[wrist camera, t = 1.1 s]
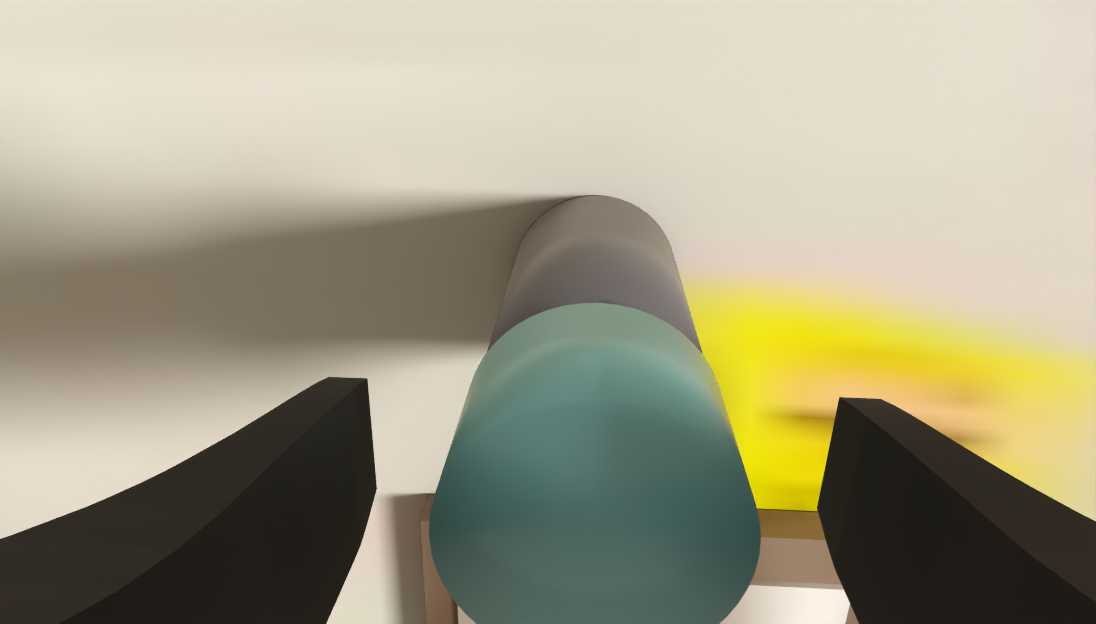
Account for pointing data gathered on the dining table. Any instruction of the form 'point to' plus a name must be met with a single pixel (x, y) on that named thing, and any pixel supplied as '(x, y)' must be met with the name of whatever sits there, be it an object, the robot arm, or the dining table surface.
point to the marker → (594, 443)
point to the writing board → (771, 599)
